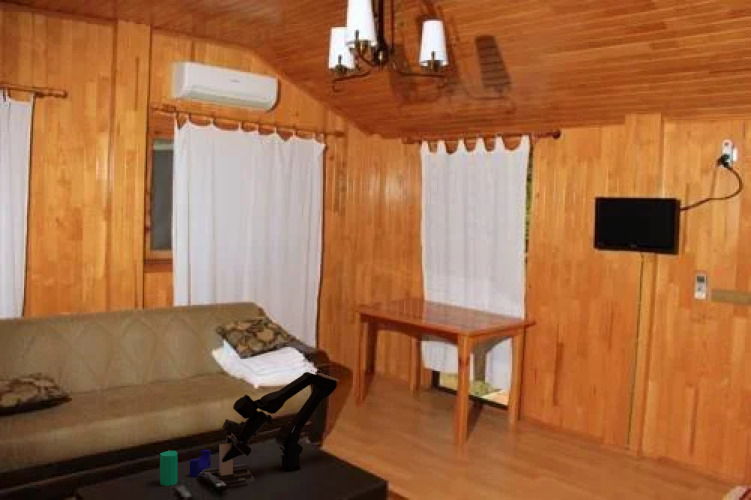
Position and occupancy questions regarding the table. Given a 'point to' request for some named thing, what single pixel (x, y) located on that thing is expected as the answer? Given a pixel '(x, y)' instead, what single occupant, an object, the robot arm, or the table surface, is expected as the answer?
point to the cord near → (238, 484)
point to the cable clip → (200, 463)
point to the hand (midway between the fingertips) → (221, 459)
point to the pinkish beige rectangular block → (227, 466)
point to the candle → (168, 468)
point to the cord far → (218, 468)
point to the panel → (236, 476)
